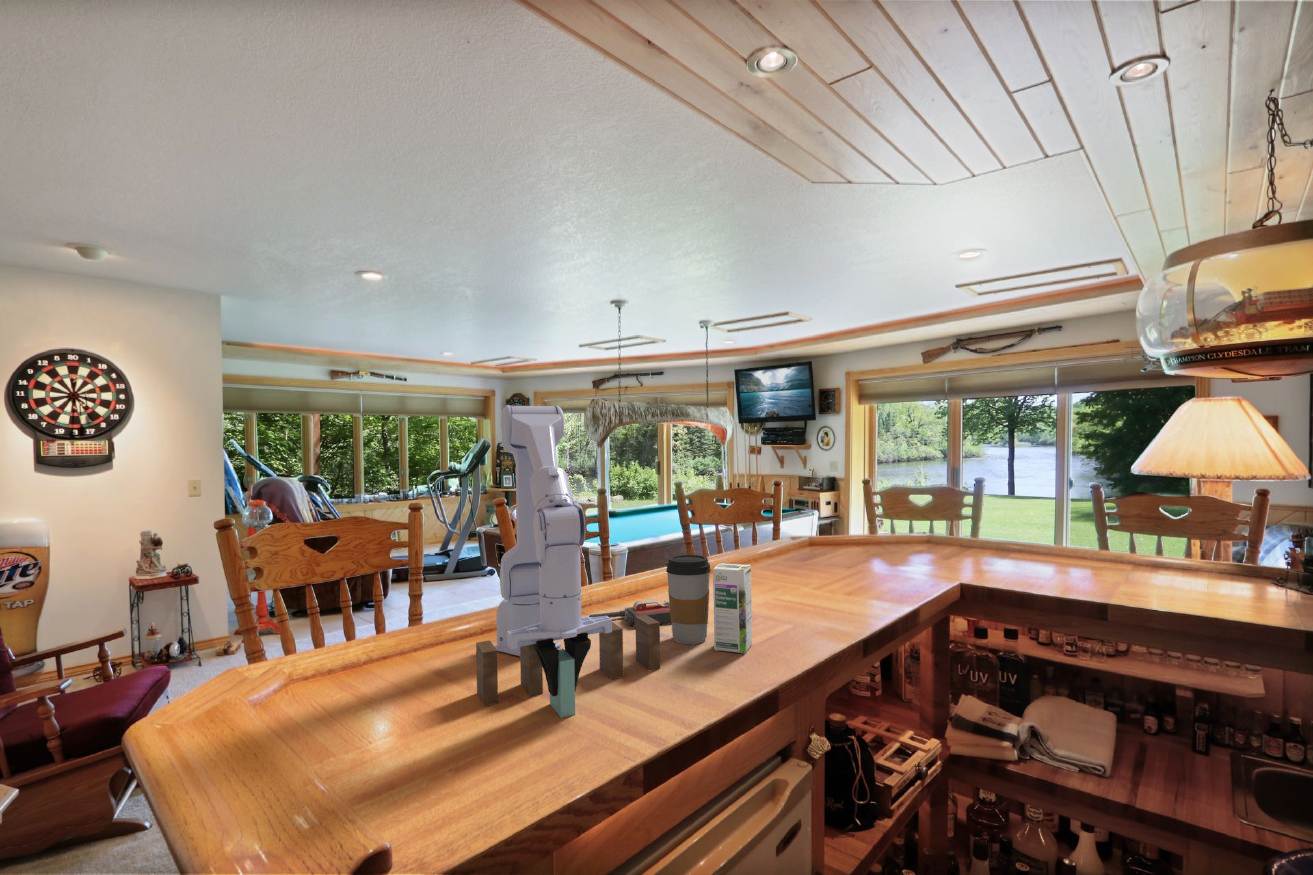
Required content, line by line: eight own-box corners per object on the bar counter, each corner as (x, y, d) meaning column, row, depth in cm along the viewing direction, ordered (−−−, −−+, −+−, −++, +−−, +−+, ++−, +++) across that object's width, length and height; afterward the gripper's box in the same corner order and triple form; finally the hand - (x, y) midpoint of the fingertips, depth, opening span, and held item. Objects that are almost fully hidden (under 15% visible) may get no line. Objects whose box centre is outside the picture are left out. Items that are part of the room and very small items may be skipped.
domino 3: (561, 717, 81) (560, 661, 81) (550, 703, 86) (549, 650, 86) (575, 714, 82) (574, 659, 82) (563, 700, 86) (562, 648, 86)
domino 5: (649, 671, 97) (648, 624, 97) (636, 661, 102) (635, 616, 102) (660, 668, 98) (659, 622, 98) (646, 659, 102) (646, 614, 103)
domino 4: (611, 678, 94) (610, 630, 94) (599, 668, 99) (599, 622, 99) (623, 676, 95) (622, 628, 95) (611, 666, 99) (610, 620, 100)
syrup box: (713, 650, 106) (711, 567, 106) (722, 640, 111) (721, 561, 111) (745, 654, 104) (743, 569, 104) (753, 643, 109) (751, 563, 109)
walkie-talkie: (677, 612, 132) (588, 622, 125) (677, 591, 132) (587, 601, 126) (693, 622, 124) (598, 634, 117) (693, 601, 124) (597, 611, 117)
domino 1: (483, 705, 85) (482, 652, 85) (477, 693, 90) (476, 642, 90) (498, 702, 86) (497, 650, 86) (490, 690, 91) (489, 640, 91)
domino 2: (529, 696, 88) (528, 644, 88) (520, 684, 93) (520, 635, 93) (542, 693, 89) (542, 642, 89) (533, 681, 94) (532, 633, 94)
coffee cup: (709, 647, 107) (707, 563, 108) (663, 645, 109) (661, 562, 109) (714, 633, 116) (713, 554, 116) (671, 631, 117) (670, 553, 117)
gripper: (515, 607, 77) (517, 714, 77) (619, 592, 84) (621, 690, 83) (502, 595, 83) (504, 694, 83) (600, 582, 90) (602, 673, 90)
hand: (562, 691), depth 84 cm, fingers closed on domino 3, 2 cm apart
